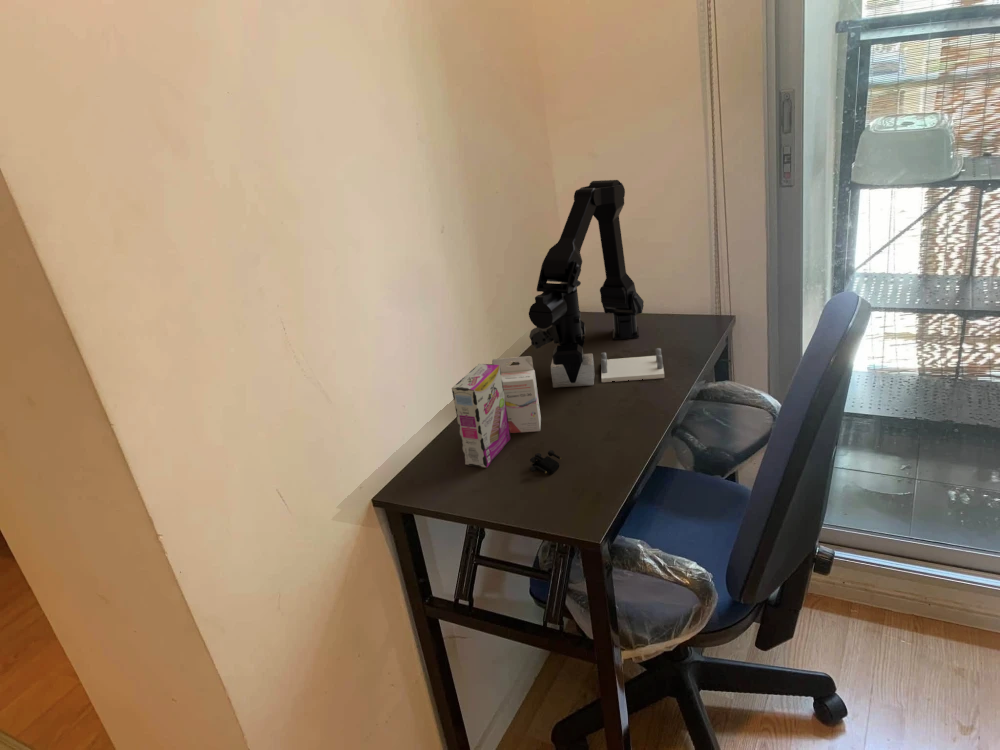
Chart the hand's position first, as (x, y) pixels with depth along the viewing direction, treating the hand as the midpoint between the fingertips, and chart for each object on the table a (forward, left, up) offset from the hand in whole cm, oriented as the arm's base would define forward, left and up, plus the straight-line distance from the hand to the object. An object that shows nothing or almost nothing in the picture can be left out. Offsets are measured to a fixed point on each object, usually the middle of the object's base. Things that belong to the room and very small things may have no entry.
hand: (573, 376), depth 157 cm
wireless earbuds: (+36, -4, -2) cm, 36 cm away
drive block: (0, 0, -1) cm, 1 cm away
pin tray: (-3, +13, -1) cm, 13 cm away
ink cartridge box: (+20, -10, -1) cm, 22 cm away
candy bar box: (+29, -15, -1) cm, 33 cm away
